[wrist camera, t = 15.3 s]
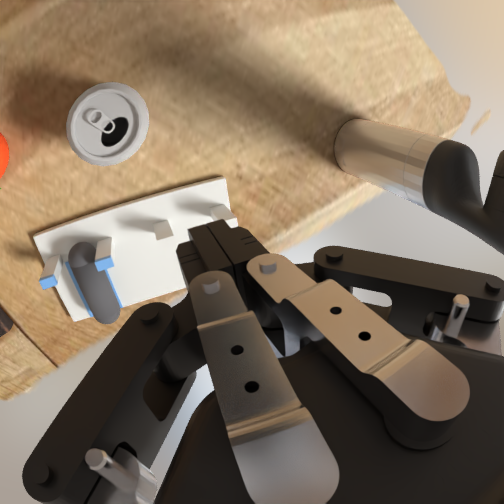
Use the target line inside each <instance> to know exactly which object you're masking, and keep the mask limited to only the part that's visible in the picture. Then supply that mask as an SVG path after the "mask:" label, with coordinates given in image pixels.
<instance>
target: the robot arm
mask: <svg viewBox="0 0 504 504" xmlns="http://www.w3.org/2000/svg"><path fill="white" fill-rule="evenodd" d="M334 151H335V158H336V161H337V163H338V165H339V167H340V168H341V169H342V170H343V171H345V172H346V173H348V174H350V175H353V176H355V177H358V178H360V179H362V180H365V181H367V182H369V183H371V184H374V185H376V186H378V187H381V188H383V189H385V190H387V191H389V192H392V193H394V194H396V195H398V196H400V197H403V198H405V199H407V200H409V201H411V202H413V203H415V204H417V205H419V206H422V207H423V208H425V209H427V210H430V211H432V212H434V213H435V214H438V215H440V216H442V217H444V218H446V219H448V220H450V221H451V222H454V223H455V224H457V225H459V226H461V227H462V228H464V229H466V230H468V231H469V232H471V233H472V234H474V235H476V236H477V237H479V238H480V239H482V240H483V241H485V242H486V243H487V244H489V245H490V246H492V247H493V248H495V249H496V250H497V251H499V252H500V253H502V254H503V255H504V150H503V151H502V152H501V153H500V155H499V157H498V159H497V163H496V166H495V170H494V173H493V177H492V180H491V184H490V187H489V191H488V194H487V197H486V200H485V204H484V206H483V202H482V199H481V193H480V181H479V167H478V162H477V159H476V156H475V154H474V152H473V151H472V150H471V149H470V148H469V147H468V146H466V145H464V144H462V143H459V142H455V141H452V140H449V139H446V138H442V137H438V136H435V135H431V134H427V133H423V132H419V131H415V130H411V129H407V128H403V127H398V126H394V125H389V124H384V123H379V122H375V121H370V120H364V119H353V120H350V121H348V122H347V123H345V124H344V125H343V126H342V127H341V129H340V131H339V132H338V134H337V137H336V140H335V148H334ZM187 230H188V236H189V240H190V241H187V242H183V243H180V244H178V247H177V249H176V254H177V258H178V262H179V265H180V269H181V272H182V275H183V279H184V282H185V285H186V288H187V290H188V294H187V296H186V297H185V298H184V299H183V300H182V301H181V302H180V303H178V304H177V305H175V306H173V307H172V308H171V307H170V306H169V305H168V304H165V303H161V302H154V303H149V304H146V305H144V306H142V307H140V308H138V309H137V310H136V311H135V312H134V313H133V314H132V315H131V316H130V317H129V319H128V320H127V321H126V323H125V324H124V325H123V326H122V328H121V329H120V330H119V332H118V333H117V334H116V335H115V337H114V338H113V339H112V341H111V342H110V343H109V345H108V346H107V347H106V349H105V350H104V351H103V353H102V354H101V355H100V357H99V358H98V359H97V361H96V362H95V363H94V365H93V366H92V367H91V369H90V370H89V371H88V373H87V374H86V376H85V377H84V379H83V380H82V381H81V382H80V384H79V385H78V387H77V388H76V389H75V391H74V392H73V394H72V395H71V397H70V398H69V399H68V401H67V402H66V403H65V405H64V406H63V408H62V409H61V410H60V412H59V413H58V415H57V416H56V418H55V419H54V421H53V422H52V424H51V425H50V426H49V428H48V429H47V431H46V432H45V434H44V436H43V437H42V438H41V440H40V441H39V443H38V444H37V446H36V447H35V449H34V450H33V452H32V454H31V455H30V457H29V458H28V460H27V461H26V463H25V465H24V468H23V474H22V479H23V484H24V487H25V489H26V491H27V492H28V494H29V495H30V496H31V497H32V498H34V499H35V500H37V501H39V502H41V503H43V504H504V357H503V356H502V354H501V339H500V328H499V320H500V318H501V316H502V314H503V311H504V281H503V280H502V279H500V278H499V277H497V276H494V275H490V274H485V273H480V272H475V271H470V270H465V269H460V268H455V267H450V266H444V265H439V264H434V263H429V262H423V261H418V260H413V259H408V258H402V257H397V256H391V255H386V254H380V253H374V252H369V251H363V250H358V249H352V248H347V247H341V246H327V247H323V248H321V249H319V250H317V252H316V253H315V254H314V262H311V263H303V264H293V263H292V262H291V261H290V260H288V259H287V258H286V257H284V256H282V255H279V254H272V253H271V254H270V253H269V252H268V251H267V250H266V249H265V248H264V246H263V245H262V244H261V243H260V242H259V241H257V239H256V238H255V237H253V235H252V234H251V233H250V232H249V231H248V230H247V229H244V228H242V227H239V226H238V227H234V228H231V227H230V226H229V225H228V224H227V223H226V221H225V220H224V219H220V220H216V221H213V222H209V223H206V225H205V224H203V225H199V226H196V227H192V228H189V229H187ZM353 287H357V288H362V289H367V290H371V291H376V292H381V293H385V294H387V295H388V296H389V297H390V298H391V300H392V305H391V306H389V307H382V306H378V305H373V304H368V303H364V302H361V301H360V300H358V299H357V298H356V297H354V296H353V295H352V293H353ZM205 364H207V365H208V368H209V372H210V375H211V379H212V382H213V386H214V389H215V390H214V391H212V392H211V393H210V394H209V395H207V396H206V397H205V398H204V399H203V401H202V402H201V403H200V404H199V405H198V407H197V408H196V410H195V411H194V413H193V414H192V416H191V418H190V420H189V423H188V425H187V427H186V429H185V432H184V434H183V436H182V439H181V441H180V443H179V445H178V448H177V450H176V452H175V455H174V457H173V459H172V462H171V464H170V466H169V468H168V471H167V473H166V475H165V478H164V480H163V482H162V484H161V487H160V489H159V491H158V494H157V496H156V498H155V500H154V497H155V493H156V490H157V482H156V479H155V476H154V475H153V473H152V472H151V471H150V470H149V469H150V467H151V465H152V463H153V461H154V460H155V458H156V456H157V454H158V452H159V450H160V448H161V446H162V444H163V442H164V440H165V438H166V436H167V434H168V432H169V430H170V428H171V426H172V424H173V422H174V420H175V418H176V416H177V414H178V412H179V410H180V409H181V407H182V404H183V403H184V401H185V399H186V397H187V394H188V393H189V391H190V389H191V387H192V385H193V383H194V381H195V378H196V370H198V369H199V368H201V367H202V366H204V365H205Z"/></svg>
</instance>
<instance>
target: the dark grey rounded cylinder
mask: <svg viewBox="0 0 504 504" xmlns="http://www.w3.org/2000/svg"><path fill="white" fill-rule="evenodd" d="M95 255H96V248H95V247H94V246H93V245H92V244H90V243H88V242H79V243H76V244H75V245H74V246H73V247H72V248H71V249H70V251H69V254H68V262H69V265H70V268H71V270H72V272H73V274H74V277H75V279H76V281H77V283H78V285H79V287H80V290H81V292H82V294H83V296H84V298H85V300H86V302H87V304H88V306H89V308H90V310H91V312H92V314H93V316H94V317H95V319H96V320H97V321H98V322H100V323H102V324H111V323H113V322H115V321H116V320H117V319H118V317H119V315H120V305H119V302H118V300H117V298H116V296H115V293H114V291H113V289H112V286H111V284H110V282H109V279H108V277H107V274H106V272H105V270H102V271H99V272H98V270H97V267H96V265H95Z"/></svg>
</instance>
